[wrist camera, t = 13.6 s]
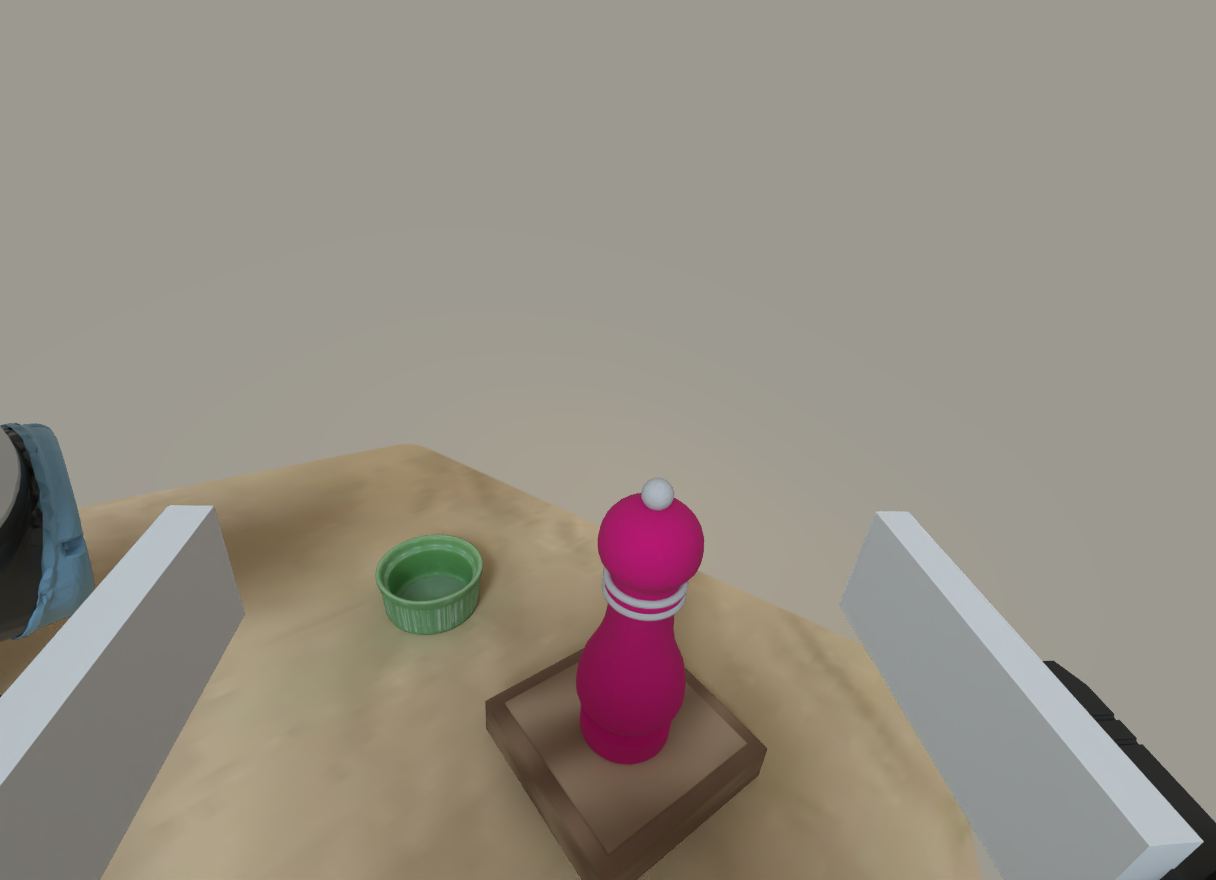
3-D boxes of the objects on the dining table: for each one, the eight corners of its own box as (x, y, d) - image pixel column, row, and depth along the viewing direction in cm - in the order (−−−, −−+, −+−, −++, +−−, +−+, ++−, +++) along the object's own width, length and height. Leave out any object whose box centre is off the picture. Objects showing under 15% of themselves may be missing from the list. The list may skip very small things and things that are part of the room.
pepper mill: (643, 667, 46) (679, 439, 36) (696, 748, 40) (755, 503, 31) (556, 699, 43) (570, 458, 33) (600, 791, 37) (633, 534, 28)
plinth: (486, 728, 44) (485, 699, 42) (632, 645, 52) (636, 618, 50) (601, 909, 34) (605, 881, 33) (758, 774, 42) (767, 746, 41)
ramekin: (495, 576, 58) (494, 540, 56) (466, 648, 50) (464, 609, 48) (405, 564, 59) (401, 528, 56) (362, 633, 51) (356, 595, 49)
